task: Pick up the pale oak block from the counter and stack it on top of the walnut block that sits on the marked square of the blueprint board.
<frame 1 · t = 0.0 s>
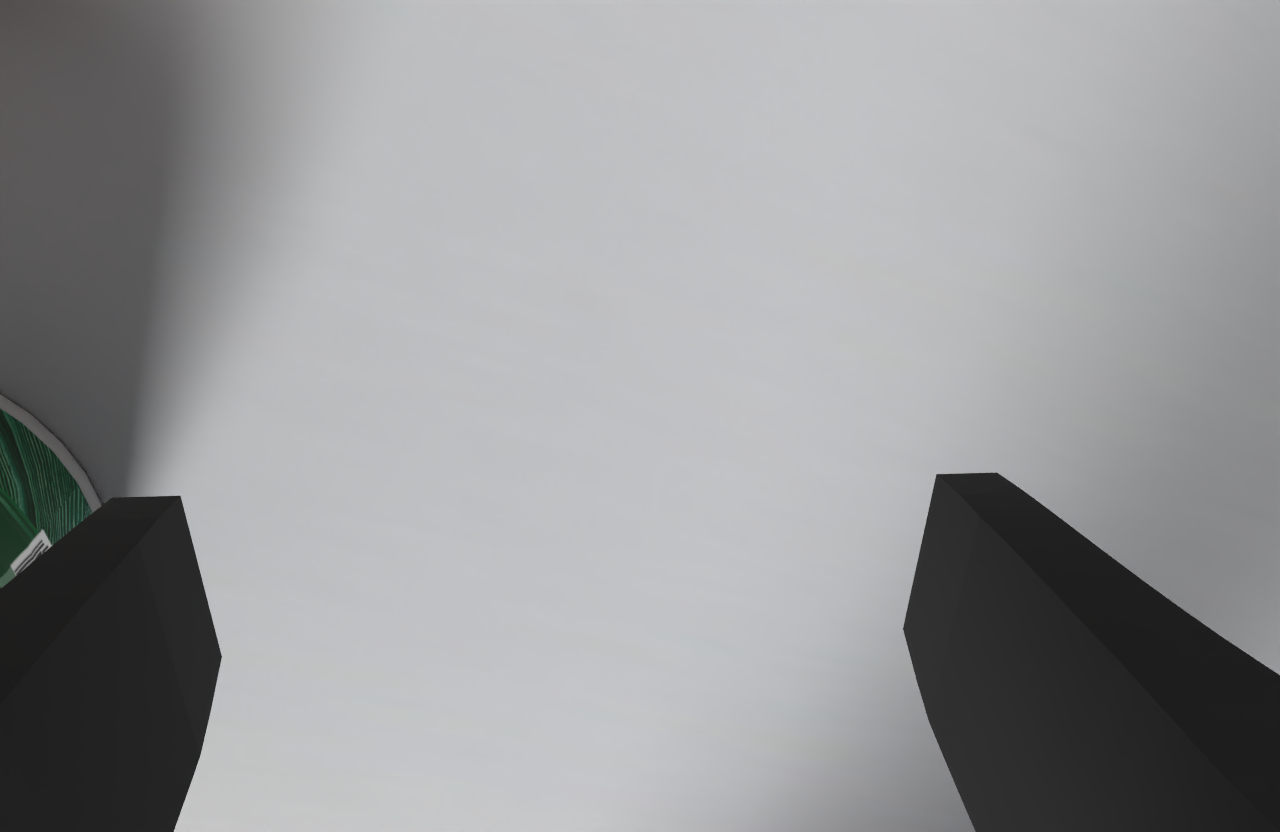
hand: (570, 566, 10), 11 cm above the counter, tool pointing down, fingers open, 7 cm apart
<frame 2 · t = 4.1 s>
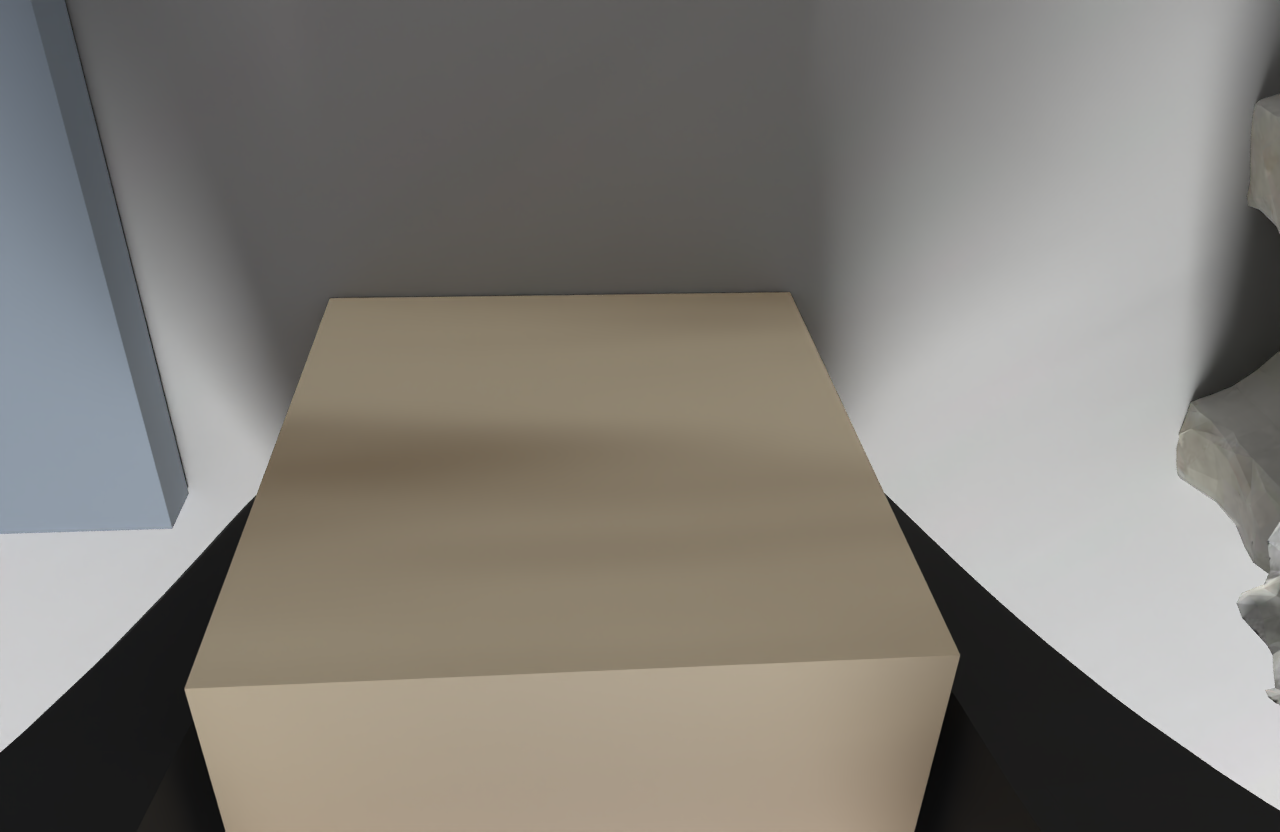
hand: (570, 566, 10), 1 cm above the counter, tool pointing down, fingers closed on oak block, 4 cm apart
oak block: (566, 481, 12), on the counter, touching gripper
when the fingers open (7 cm above the counter, at t = 7.2 s): oak block stays where it is, resting on walnut block.
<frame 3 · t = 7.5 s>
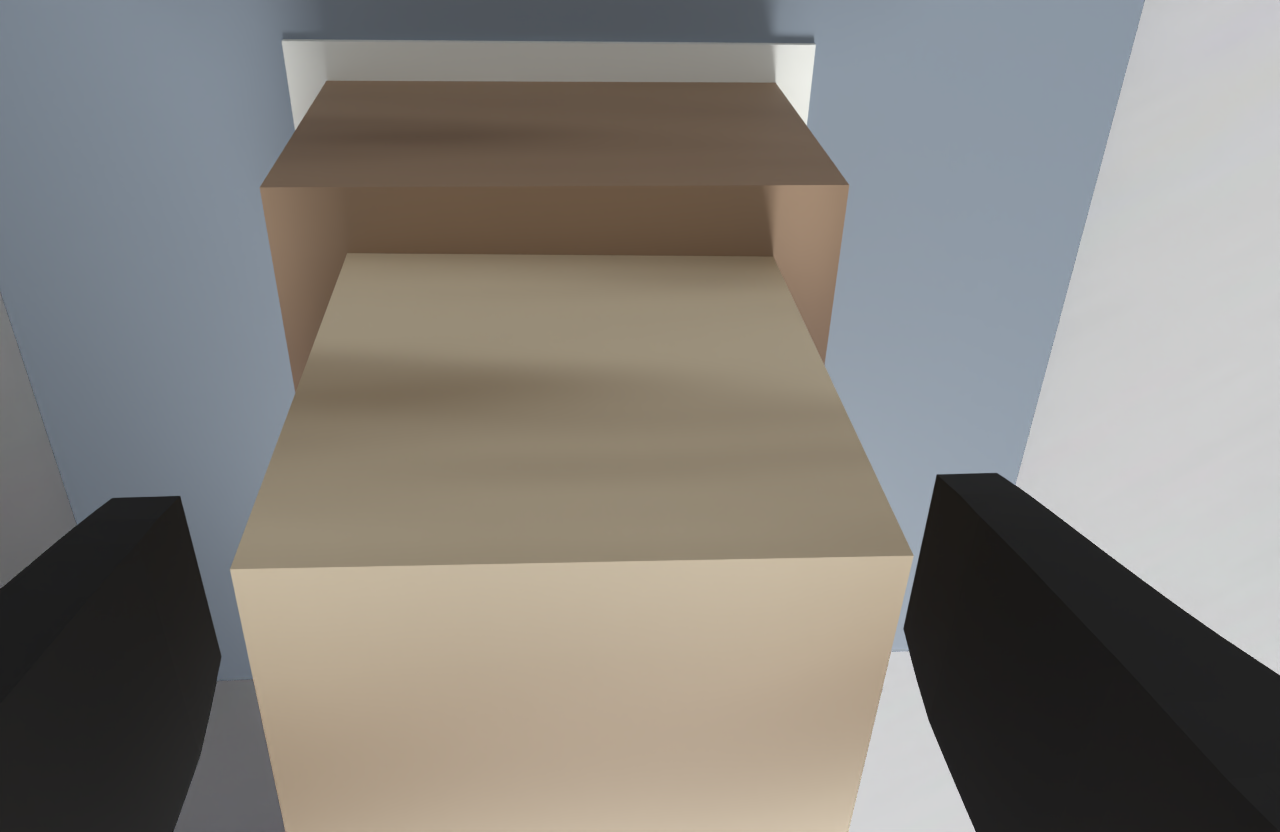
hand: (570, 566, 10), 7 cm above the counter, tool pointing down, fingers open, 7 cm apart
walnut block: (558, 285, 16), point 1 cm above the counter, touching blueprint board, oak block
blueprint board: (558, 323, 17), on the counter
oak block: (563, 432, 12), point 5 cm above the counter, touching walnut block
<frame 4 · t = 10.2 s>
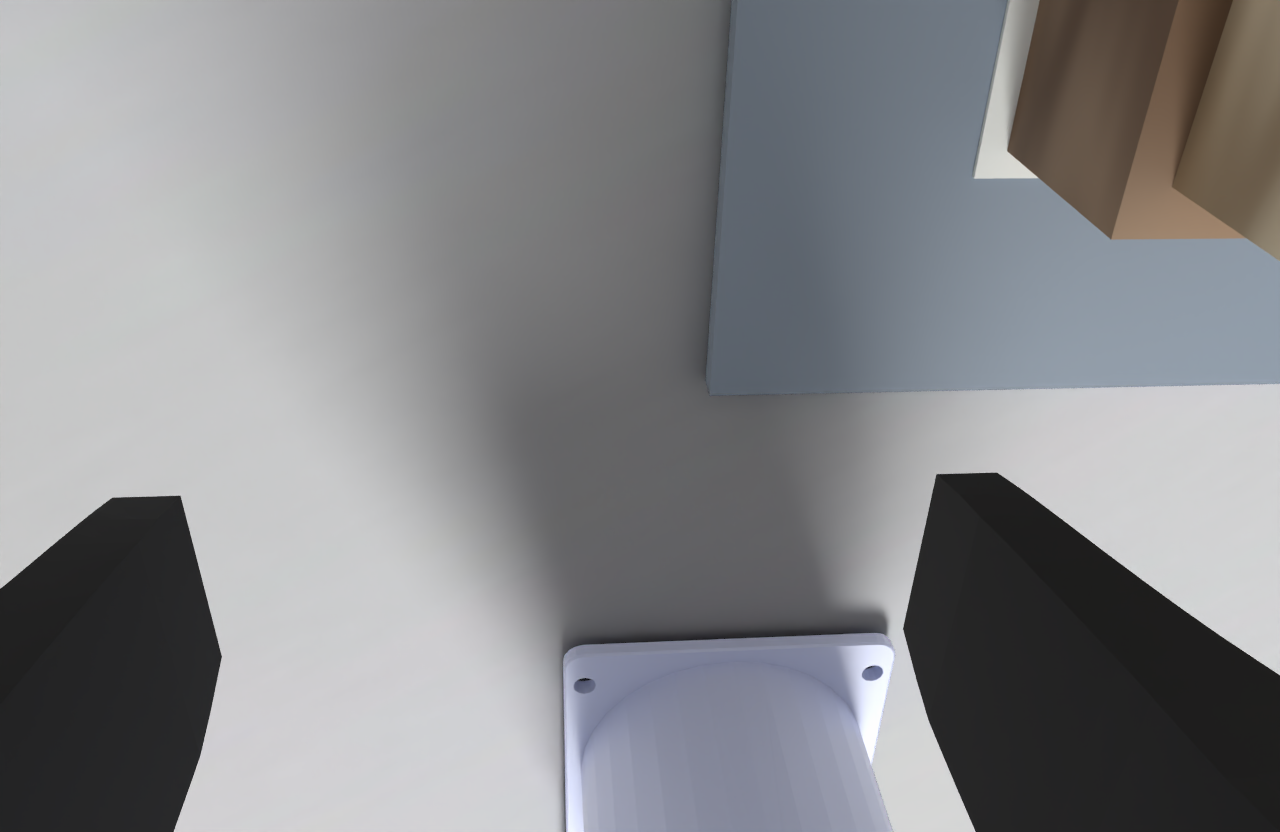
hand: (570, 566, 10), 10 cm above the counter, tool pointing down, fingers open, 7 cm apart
blueprint board: (1181, 26, 18), on the counter
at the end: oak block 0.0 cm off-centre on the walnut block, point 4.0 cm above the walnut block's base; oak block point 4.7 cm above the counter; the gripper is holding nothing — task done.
